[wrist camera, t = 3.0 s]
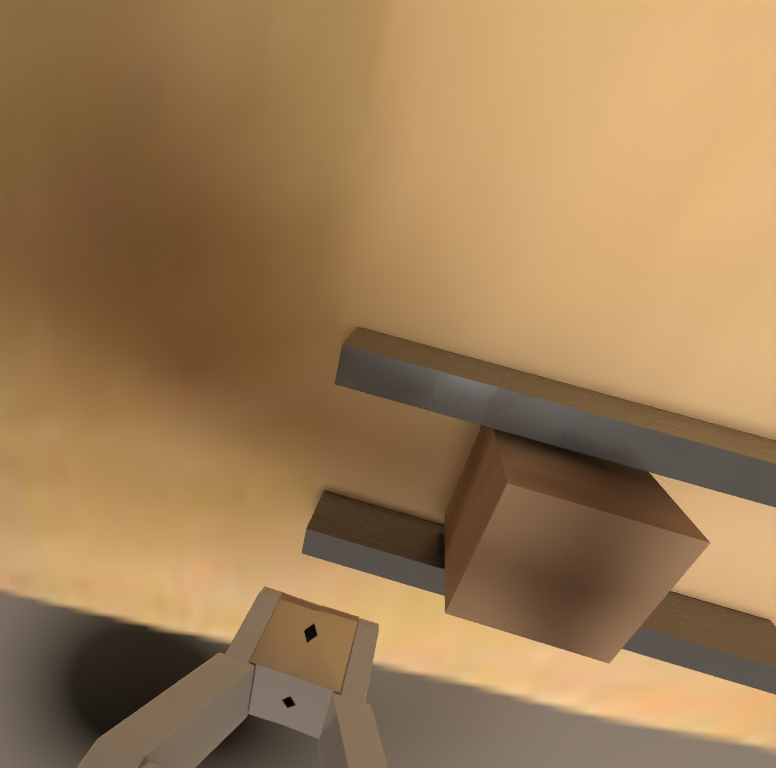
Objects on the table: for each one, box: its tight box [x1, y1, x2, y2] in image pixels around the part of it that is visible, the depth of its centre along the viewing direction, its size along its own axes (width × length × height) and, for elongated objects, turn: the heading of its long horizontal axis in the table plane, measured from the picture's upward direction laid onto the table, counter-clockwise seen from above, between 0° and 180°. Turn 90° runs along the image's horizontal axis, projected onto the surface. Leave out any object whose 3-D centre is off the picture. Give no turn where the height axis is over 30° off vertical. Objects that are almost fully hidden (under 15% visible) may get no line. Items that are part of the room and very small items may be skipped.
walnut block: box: [445, 425, 710, 663], centre depth 14 cm, size 6×6×5 cm
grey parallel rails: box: [302, 327, 776, 694], centre depth 15 cm, size 22×10×2 cm, turn 77°
